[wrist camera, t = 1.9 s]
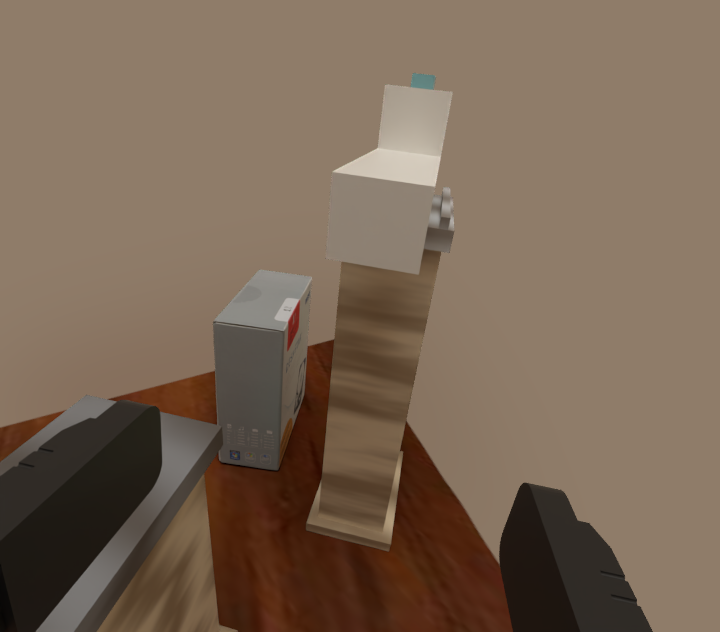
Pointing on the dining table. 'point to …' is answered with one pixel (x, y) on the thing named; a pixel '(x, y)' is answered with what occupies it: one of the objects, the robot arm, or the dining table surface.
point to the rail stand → (374, 389)
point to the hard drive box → (261, 367)
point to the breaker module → (391, 183)
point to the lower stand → (147, 541)
